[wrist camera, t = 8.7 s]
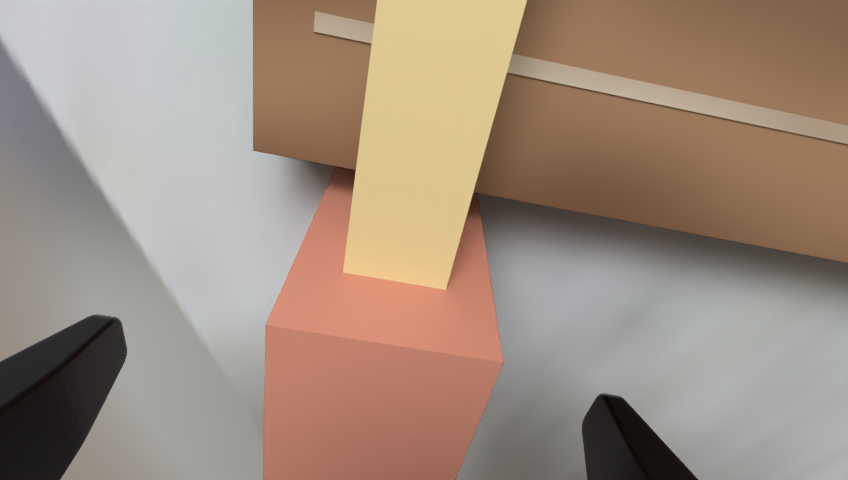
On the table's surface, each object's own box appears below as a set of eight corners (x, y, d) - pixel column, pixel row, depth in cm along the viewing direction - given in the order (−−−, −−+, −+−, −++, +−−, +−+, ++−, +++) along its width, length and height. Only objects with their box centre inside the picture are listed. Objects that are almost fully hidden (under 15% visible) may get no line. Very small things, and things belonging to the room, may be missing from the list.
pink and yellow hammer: (443, 314, 14) (445, 504, 9) (323, 294, 14) (262, 481, 9) (632, -351, 7) (1034, -944, 2) (395, -420, 7) (292, -1265, 2)
